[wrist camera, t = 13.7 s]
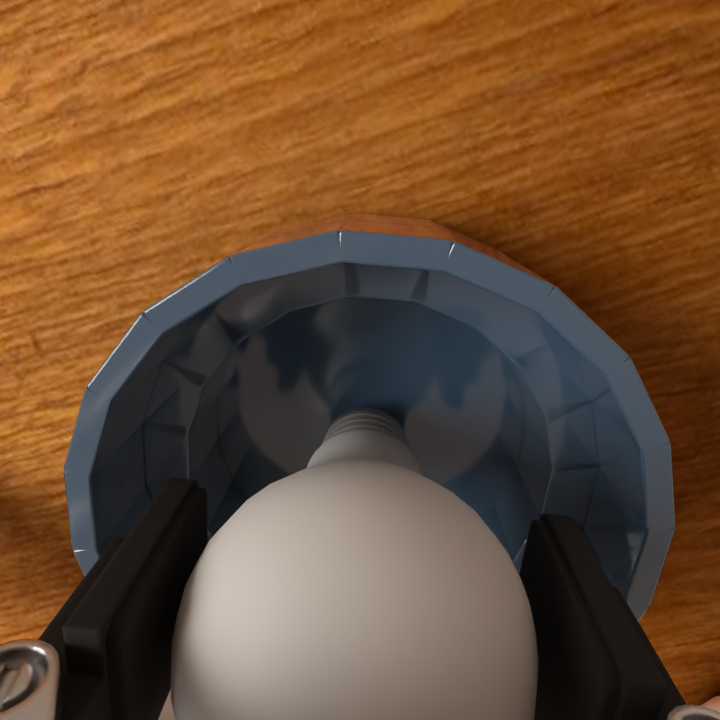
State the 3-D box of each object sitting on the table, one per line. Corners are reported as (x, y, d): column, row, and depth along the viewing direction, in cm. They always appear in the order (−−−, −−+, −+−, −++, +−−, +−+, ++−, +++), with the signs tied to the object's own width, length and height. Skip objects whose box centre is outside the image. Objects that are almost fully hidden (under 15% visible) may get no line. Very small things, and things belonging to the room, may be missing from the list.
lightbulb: (371, 299, 15) (350, 544, 5) (504, 439, 17) (705, 865, 6) (231, 428, 17) (-8, 821, 7) (362, 547, 18) (337, 1036, 8)
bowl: (174, 568, 20) (89, 727, 14) (162, 194, 15) (33, 201, 10) (532, 603, 19) (595, 777, 14) (620, 235, 15) (763, 268, 10)
